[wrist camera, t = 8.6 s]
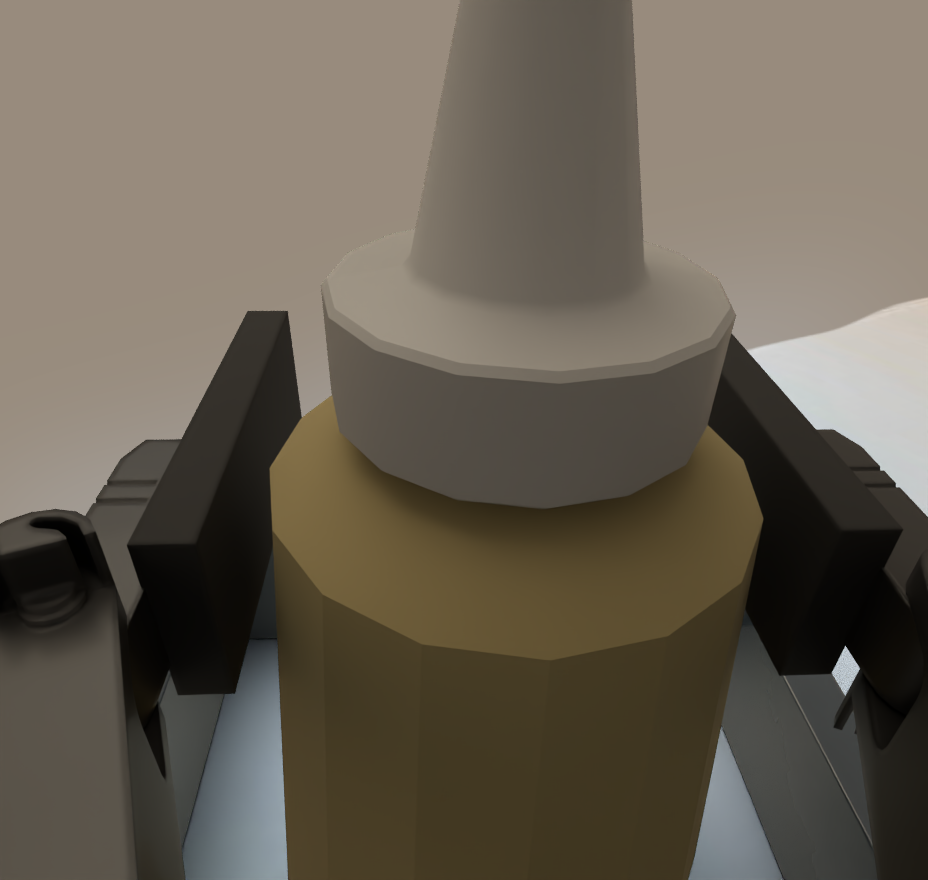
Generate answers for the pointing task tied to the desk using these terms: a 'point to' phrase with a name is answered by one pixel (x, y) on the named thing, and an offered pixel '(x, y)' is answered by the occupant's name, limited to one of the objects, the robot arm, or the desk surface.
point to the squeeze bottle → (513, 500)
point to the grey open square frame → (746, 727)
